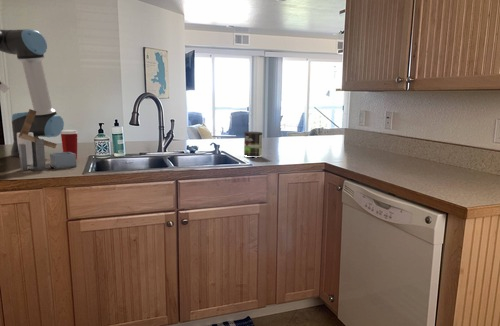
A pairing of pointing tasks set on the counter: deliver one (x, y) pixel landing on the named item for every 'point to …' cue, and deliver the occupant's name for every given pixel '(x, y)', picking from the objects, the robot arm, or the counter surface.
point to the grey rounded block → (63, 160)
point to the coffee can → (253, 143)
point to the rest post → (23, 157)
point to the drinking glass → (28, 147)
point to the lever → (27, 127)
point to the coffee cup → (69, 141)
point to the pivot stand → (38, 155)
